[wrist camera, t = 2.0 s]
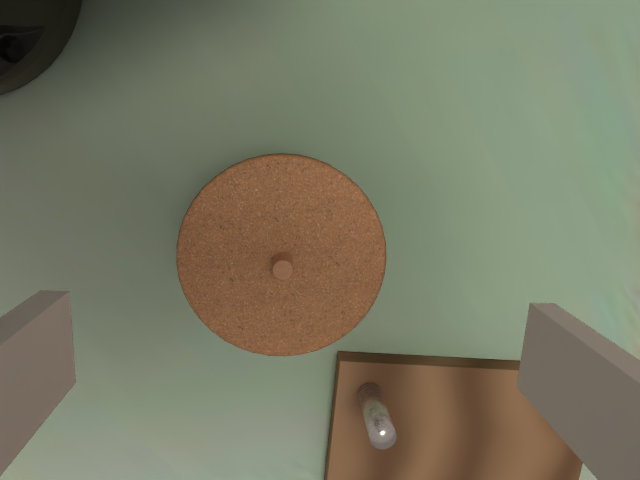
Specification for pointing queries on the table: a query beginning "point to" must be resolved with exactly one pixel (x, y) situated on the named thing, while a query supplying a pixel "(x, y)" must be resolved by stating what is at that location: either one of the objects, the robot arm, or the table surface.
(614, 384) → the robot arm
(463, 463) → the peg board
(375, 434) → the corner pegs
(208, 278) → the lidded jar
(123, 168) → the table surface
